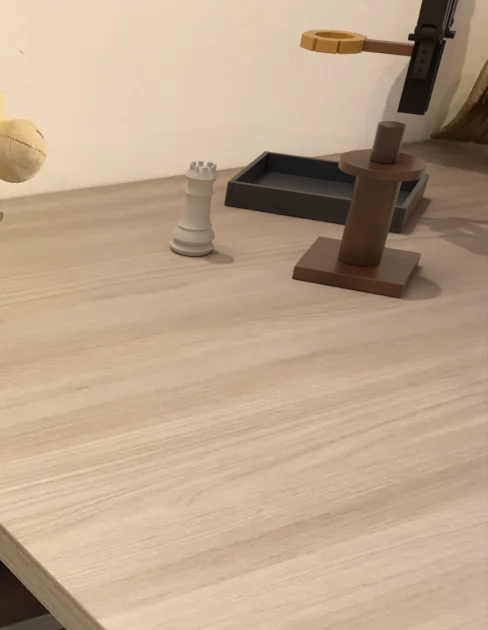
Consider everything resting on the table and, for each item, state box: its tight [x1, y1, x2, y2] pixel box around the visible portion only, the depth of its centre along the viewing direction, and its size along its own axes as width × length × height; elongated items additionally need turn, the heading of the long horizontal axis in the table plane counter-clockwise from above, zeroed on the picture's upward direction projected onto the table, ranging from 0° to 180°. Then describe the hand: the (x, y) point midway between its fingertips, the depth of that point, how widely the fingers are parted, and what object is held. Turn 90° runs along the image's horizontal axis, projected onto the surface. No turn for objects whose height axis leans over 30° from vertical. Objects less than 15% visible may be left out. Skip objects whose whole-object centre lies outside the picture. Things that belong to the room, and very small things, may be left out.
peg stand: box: [291, 120, 428, 299], centre depth 95 cm, size 10×10×13 cm
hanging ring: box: [299, 29, 414, 58], centre depth 107 cm, size 14×6×1 cm, turn 63°
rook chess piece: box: [169, 160, 220, 257], centre depth 101 cm, size 4×4×8 cm
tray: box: [223, 150, 430, 234], centre depth 117 cm, size 19×15×2 cm
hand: (412, 111), depth 109 cm, fingers closed on hanging ring
